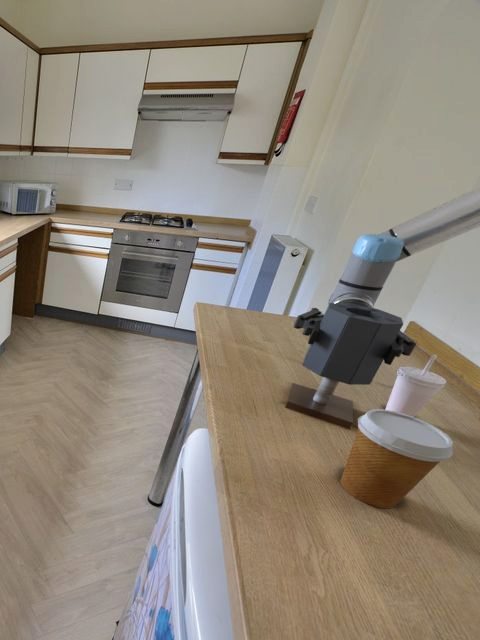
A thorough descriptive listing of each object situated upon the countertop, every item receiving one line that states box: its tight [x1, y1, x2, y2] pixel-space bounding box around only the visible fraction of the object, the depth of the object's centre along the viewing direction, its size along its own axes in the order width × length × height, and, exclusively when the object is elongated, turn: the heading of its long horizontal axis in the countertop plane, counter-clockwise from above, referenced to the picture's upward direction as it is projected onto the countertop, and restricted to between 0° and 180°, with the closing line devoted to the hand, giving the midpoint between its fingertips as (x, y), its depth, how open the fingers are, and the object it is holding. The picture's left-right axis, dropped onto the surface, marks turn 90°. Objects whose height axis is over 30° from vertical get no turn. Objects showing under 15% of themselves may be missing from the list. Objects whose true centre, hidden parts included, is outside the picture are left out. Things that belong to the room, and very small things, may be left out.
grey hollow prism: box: [302, 303, 404, 386], centre depth 76 cm, size 10×10×12 cm
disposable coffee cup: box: [339, 408, 454, 509], centre depth 59 cm, size 10×10×12 cm
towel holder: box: [284, 377, 354, 430], centre depth 79 cm, size 10×10×12 cm
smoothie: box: [384, 353, 447, 418], centre depth 77 cm, size 6×6×14 cm
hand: (350, 347), depth 72 cm, fingers closed on grey hollow prism, 10 cm apart
